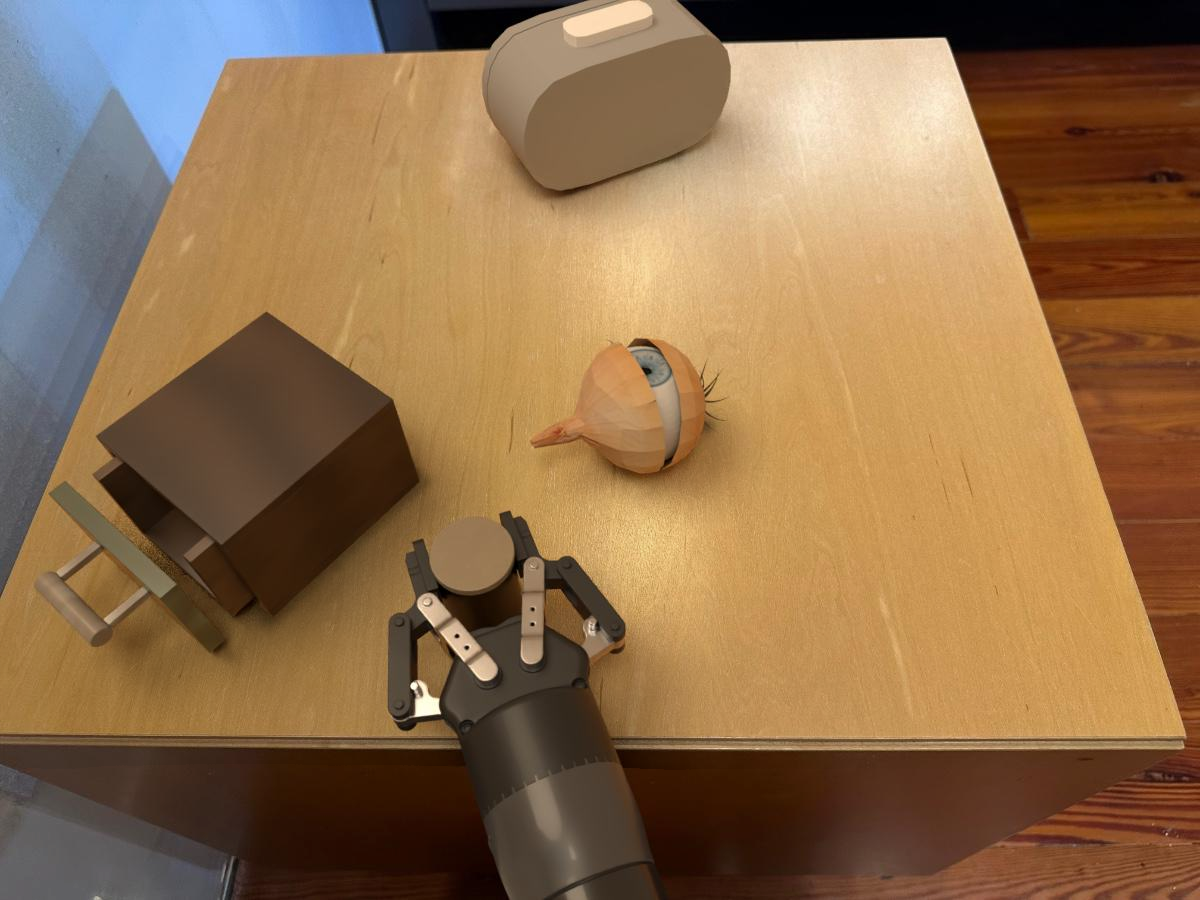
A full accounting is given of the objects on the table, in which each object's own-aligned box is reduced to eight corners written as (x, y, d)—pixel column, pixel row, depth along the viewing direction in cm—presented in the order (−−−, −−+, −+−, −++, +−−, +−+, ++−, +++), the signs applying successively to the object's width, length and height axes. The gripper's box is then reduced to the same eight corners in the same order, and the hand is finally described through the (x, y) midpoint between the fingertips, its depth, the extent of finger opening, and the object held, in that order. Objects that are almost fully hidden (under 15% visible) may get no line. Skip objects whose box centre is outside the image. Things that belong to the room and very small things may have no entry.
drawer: (154, 704, 56) (94, 654, 50) (50, 599, 60) (-17, 540, 54) (357, 520, 64) (327, 455, 57) (252, 438, 68) (214, 369, 61)
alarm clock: (674, 92, 93) (681, -41, 82) (723, 143, 88) (738, 8, 77) (488, 153, 88) (470, 19, 77) (530, 211, 83) (516, 77, 72)
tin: (469, 662, 57) (451, 606, 51) (436, 601, 60) (415, 540, 53) (538, 624, 59) (529, 565, 52) (502, 567, 61) (490, 503, 55)
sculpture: (773, 378, 61) (567, 411, 55) (739, 480, 67) (549, 520, 61) (706, 303, 67) (513, 325, 61) (680, 403, 73) (502, 432, 67)
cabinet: (272, 617, 60) (221, 545, 53) (157, 515, 65) (94, 435, 57) (419, 481, 66) (393, 398, 59) (305, 397, 71) (266, 310, 63)
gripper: (690, 726, 45) (570, 461, 54) (405, 839, 42) (330, 538, 51) (680, 771, 51) (574, 526, 60) (431, 872, 48) (360, 598, 57)
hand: (462, 533), depth 56 cm, fingers closed on tin, 4 cm apart
